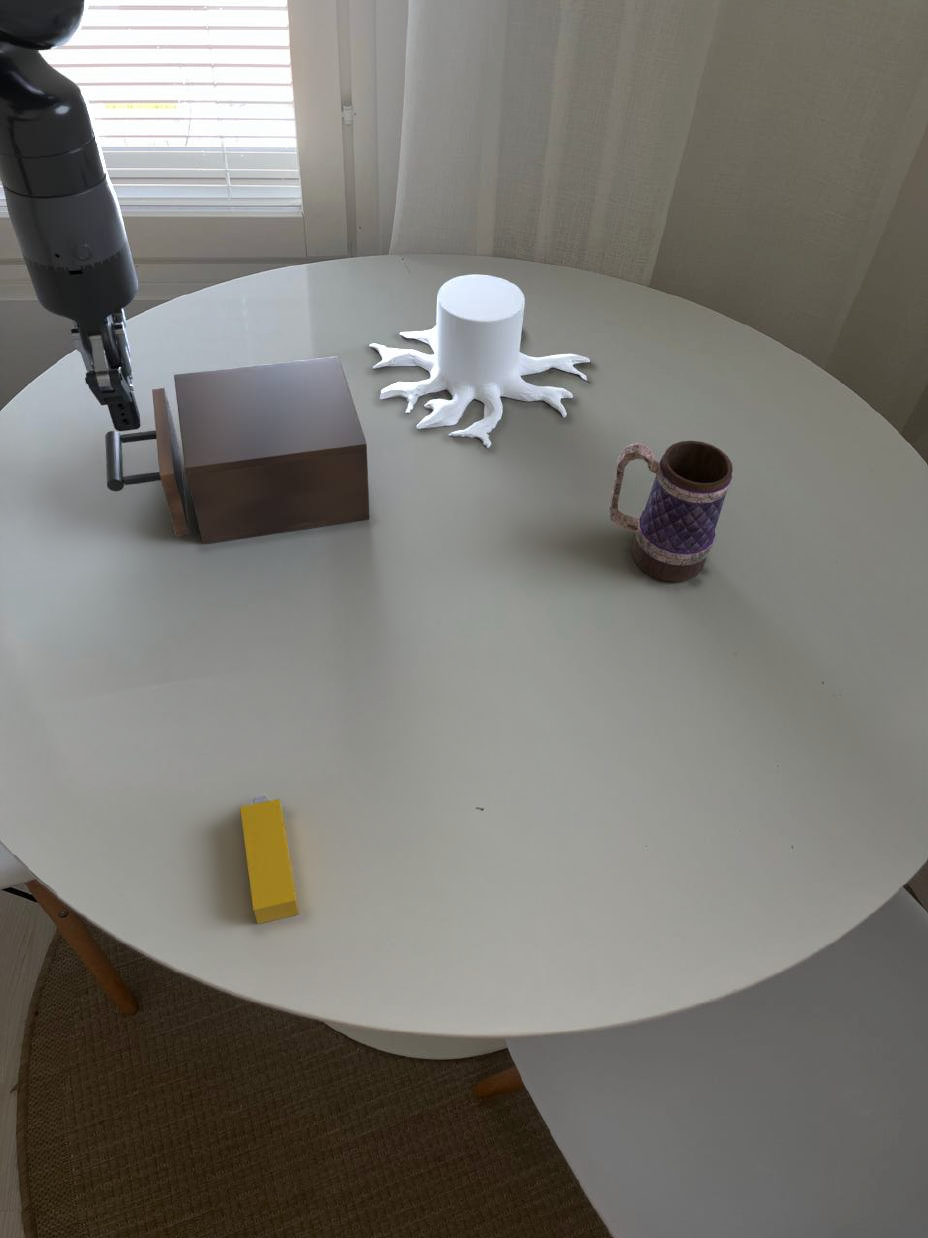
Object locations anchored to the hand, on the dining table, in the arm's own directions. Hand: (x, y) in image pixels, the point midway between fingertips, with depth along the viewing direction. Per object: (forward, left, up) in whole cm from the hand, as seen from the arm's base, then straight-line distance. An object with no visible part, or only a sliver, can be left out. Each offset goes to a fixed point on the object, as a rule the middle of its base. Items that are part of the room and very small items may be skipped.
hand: (128, 425), depth 80 cm
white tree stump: (+37, +14, -9) cm, 41 cm away
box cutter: (+6, -40, -9) cm, 42 cm away
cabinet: (+12, 0, -9) cm, 15 cm away
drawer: (+7, 0, -8) cm, 11 cm away
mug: (+45, -17, -9) cm, 49 cm away
